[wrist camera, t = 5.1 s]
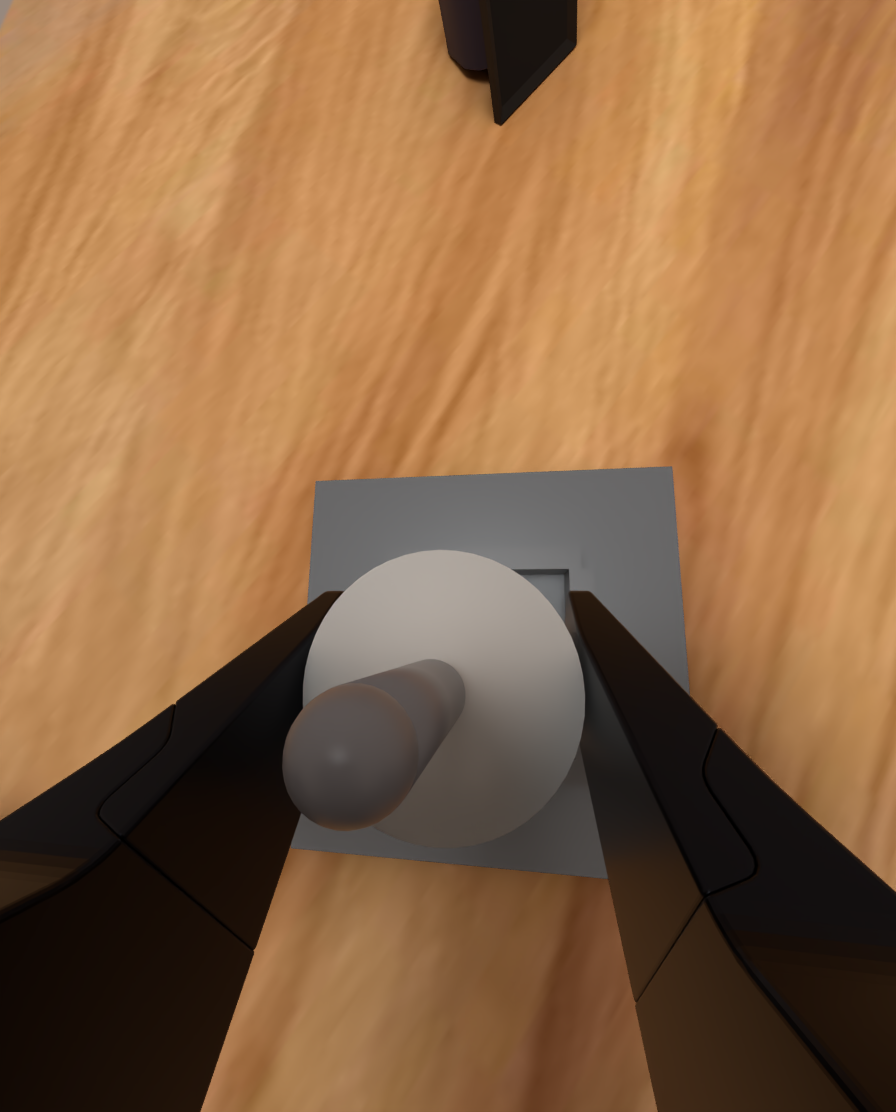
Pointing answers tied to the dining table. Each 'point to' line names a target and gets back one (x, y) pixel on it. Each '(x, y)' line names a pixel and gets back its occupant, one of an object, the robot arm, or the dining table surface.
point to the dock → (549, 565)
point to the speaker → (510, 43)
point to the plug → (436, 704)
